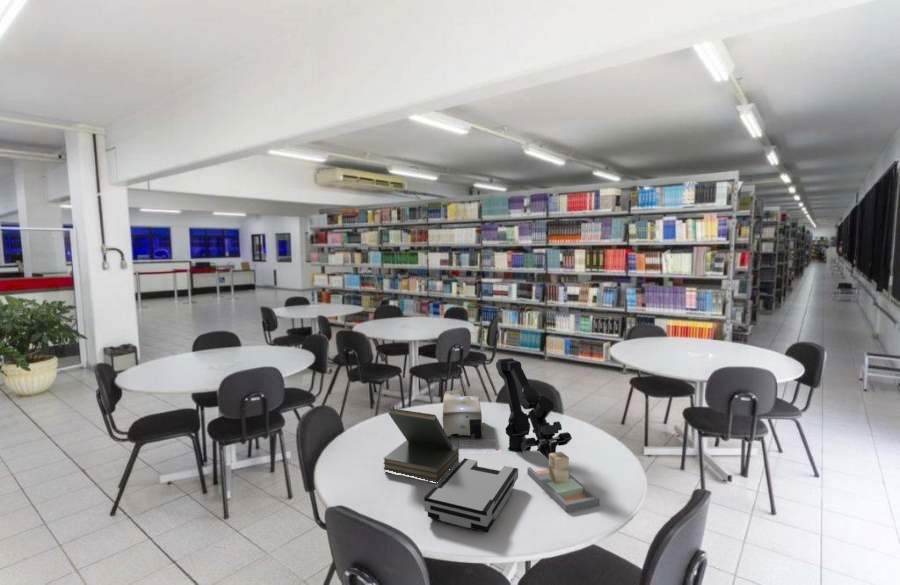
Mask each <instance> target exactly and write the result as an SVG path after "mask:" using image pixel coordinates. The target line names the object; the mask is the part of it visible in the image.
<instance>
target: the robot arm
mask: <svg viewBox="0 0 900 585" xmlns="http://www.w3.org/2000/svg"><path fill="white" fill-rule="evenodd" d="M495 368H496V370H497V373H498V375H499V377H500V378H502V380H503V382H504V383H503V384H504V387H505V392H506V397H507V402H508V405H509V406H508V407H509V411H510V414H509V417H508V424H507V426H506V427H505V434H506V435H507V436H508V439H509V440H508V444H509V445H508V447H507V450H508V451H512V452H517V453H523V452H529V451H531V449H532V447H536V448H537V449H536V451H537V452H539V453H540V454H541V455H543V456H544V457H545V458H546V459H547V460H548V461H549V454H550V453H556V452H557V446H558V447H559V446H566V445H568V444H569V442H571V440H573V437H572V435H571V433H569V432H568V431H567V432H560V433H559V431H562V429H563V427H562V424H561V422H560V420H559V421H553V423H552V424H550V422H548V421H547V418H548V416H549V415H550V414H551V413H552V411H553V410H554V407H555V406H554V402H552V400H551V399H549V398H547V397H546V395H540V394H539V392H538V391H537V390H536V388H533V386H531V383H530V382H529V379H528V378H527V376H526V373H525V372H524V369H523V368H522V363H521V361H519V360H515V359H514V358H513V357H507V358H499V359H497V361H496V363H495ZM519 393H520V395H519ZM522 409H524V410H530V411H528V413H525V412H524V411H523V410H522ZM530 423H531V424H530ZM531 426H532V433H533V434H535V436H536V438H535V437H528V438H527V437H526V436H530V431H531ZM556 434H557V435H556ZM555 436H556V437H555Z"/></svg>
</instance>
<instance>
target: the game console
mask: <svg viewBox="0 0 900 585" xmlns="http://www.w3.org/2000/svg"><path fill="white" fill-rule="evenodd" d="M518 479H519V468H518V467H512V466H507V465H504V466H502V468H501V469H500V470H498V469H493V468H489V467H482V466H478V460H476V459H471V458H465V457H464V458H463V459H462V460H461V461H460V463H459V464H458V465H457V466H456V467H454V469H453V470H452V471H451V472H450V473H449V474H448V475H447V476H446V477H445V478H444V479H443V480H442V482H440V484H439V485H438V486H436V487H435V486H434V487H432V488H431V490H429V492H427V494H426V495H425V496H424V498H423V499H424V500H423V501H424V502H423V503H424V505H423V506H424V512H427V517H428V518H430V519H433V518H435V519H434V520H436V519H439V520H438V521H440V520H441V521H440V522H444V523H449V524H451V525H456V526H460V527H463V528H468V529H472V528H473V530H475V529H476V530H477V531H479V530H480V531H481V532H483V533H488V532H489V530H490V529H491V527H492V526H493V524H494V522H495V521H496V519H497V517H498V516H499V515H500V513H501V511H502V510H503V508H504V506H505V505H506V504H507V501H508V500H509V498H510V496H511V495H512V494H513V487H514V486H515V483H516V481H517V480H518ZM480 531H479V532H480Z"/></svg>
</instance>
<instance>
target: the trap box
mask: <svg viewBox="0 0 900 585" xmlns="http://www.w3.org/2000/svg"><path fill="white" fill-rule="evenodd" d="M526 474H527V475H528V476H529V478H531V480H532V481H534V482H535V483H536V485H538V487H540V488H541V489H542V490H543V491H544V492H545V493H546V494H547V495H548V496H549V497H550V498H551V499H552V500H553V501H554V502H555V503H556V504H557V506H559V507H560V508H561V509H562V510H563V511H564V513H569V512H570V513H571V512H574V511H579V510H585V509H588V508H589V509H590V508H593V507H598V506H600V498H599V496H597V495H596V494H595V493H593V492H592V491H591V490H590V489H589V488H587V487H586V486H585V485H584V484H583V483H582V482H580V481H579V480H578V479H577V478H576V477H575V476H573V475H572V474H571V473H570V472H569V482H566V483H561V484H555V483H554V482H553V481H552V480H551V479H550V478H549V468H548V469H543V470H538V471H535V470H534V469H533V467H531V466H530V467H527V472H526Z"/></svg>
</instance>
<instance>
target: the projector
mask: <svg viewBox="0 0 900 585" xmlns="http://www.w3.org/2000/svg"><path fill="white" fill-rule="evenodd" d="M480 401H481V400H480V396H479V395H465V396H464V395H463V392H462V390H461V389H458V388H457V389H453V390H446V391H445V392H444V393H443V405H442V427H443V429H444V431H445V433H446V434H447V436H448V437H450V436H451V435H454V434H459V435H458V436H467V435H468V437H469V436H471V437H470V438H471V439H473V438H474V439H473V440H480V439H483V437H484V433H483V432H484V431H483V430H484V428H483V422H482V421H483V418H482V417H483V415H482V408H481V402H480Z"/></svg>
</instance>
